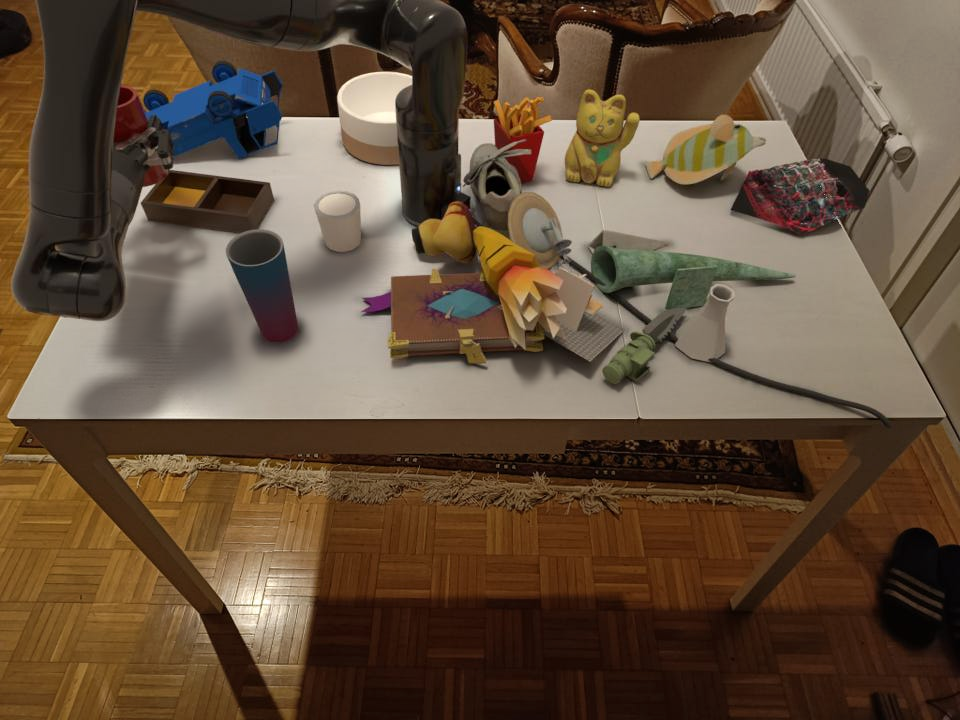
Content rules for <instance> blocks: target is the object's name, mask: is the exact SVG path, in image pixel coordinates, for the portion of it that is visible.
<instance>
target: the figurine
mask: <svg viewBox="0 0 960 720" xmlns="http://www.w3.org/2000/svg"><path fill="white" fill-rule="evenodd" d="M626 106H627V100H626V97H625V96H624V95H623V94H616V95H613V96H611V97H610V98H608V99H606V100H602V99H601V98H600V95H599V94H598V93H597V92H596V91H595V90H593V89H591V88H590V89H586V90H584V92H583V94H582V95H581V98H580V103H579V107H578V111H577V115H576V120H575V128H576V131H575V132H574V135H572V139H571V140H570V143H569V145H568V147H567V150H566V152H565V155H564V167H565V179H566V180H567V181H568V182H573V183H579V182H580V181H581V180H582V181H583V182H584V183H586V184H592V183H594V182H595V183H596V185H597V186H598V187H605V188H607V187H608V188H609V187H611V186H612V184H613V182H614V178H615V176H617V174H618V171H619V169H620V166H621V159H622V157H621V153H622V150H624V149H625V148H627V146H629V145H630V144H631V143H632V140H633V139H634V137H635V135H636V132H637V131H638V127H639V124H640V119H641V118H640V115H639V114H638V113H637V112H631V113H629V114H628V115H627V116H626V119H625V112H626V108H627V107H626Z"/></svg>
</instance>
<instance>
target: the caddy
mask: <svg viewBox="0 0 960 720" xmlns="http://www.w3.org/2000/svg"><path fill="white" fill-rule="evenodd" d="M272 189H273V188H272V185H271V182H269V181H260V180H253V179H247V178H246V179H245V178H237V177H229V176H222V175H214V174H207V173H199V172H190V171H184V170H175V169H169V170H168V173H167V175H166V177H165V178H164V179H163V180H162V181H160V182H159V183H157V184H154V185H153V186H152V188H151V189H150V190H149V192H147V194H146V195H145V196H144V198H143V199H142V200H141V202H140V206H141V208H142V210H143V212H144V214H145V217H146V219H147V221H148V222H156V223H163V224H169V225H178V226H186V227H192V228H200V229H207V230H215V231H223V232H230V233H235V234H236V233H238V234H241V233H243V232H246V231H249V230H256V229H259V227H260V225H261V223H262V221H264V218H265V217H266V215H267V213H268V211H270V208H271V207H272V206H273V203H274V201H275V197H274V193H273V190H272Z"/></svg>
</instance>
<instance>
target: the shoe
mask: <svg viewBox="0 0 960 720" xmlns="http://www.w3.org/2000/svg"><path fill="white" fill-rule="evenodd" d="M524 141H526V139H525V140H521V141H517V142H513V143H511V144H509V145H507V146H505V147H503V148H501V149H499V150H498V149H497V147H496V146H495V143H491V142H485V143H481V144H479V145H478V146H477V147H476V148H475V149H474V150H473V152H472V154H471V157H470V161H469V171H468V172H467V173H466V175H465V176H464V177H463V179H462V182H463V183H464V185H463V186H462V187H463V188H464V187H465V186H471V188H472V191H473V193H474V194H475V196H476V197H477V198H479V201H480V209H481V211H482V215H483V218H484V223H483V227H486V228H490V229H492V230H494V231H496V232H498V233H500V234H502V235H503V236H505V237H506V238H508V239H509V240H510V241H511V239H510V235H509V229H508V212H509V209H510V206H511V203H512V201H513V200H514V199H515V198H516V196H517V195H519V194H521V193H522V190H523V189H522V183H521V181H520V178H519V175H518V172H517V170H516V168H515V167H514V166H513V165H511V164H509V163H508V162H507V160H506V159H505V158H504V157H510V156H516V155H523V154H531V150H528V149H516V150H511V151H507V152H504V151H505V150H507V149H509V148H511V147H513V146H514V145H516V144H518V143H521V142H524ZM502 152H504V153H502Z"/></svg>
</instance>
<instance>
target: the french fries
mask: <svg viewBox="0 0 960 720" xmlns="http://www.w3.org/2000/svg"><path fill="white" fill-rule="evenodd" d="M544 100H545V99H544V97H543V96H541V97H540V96H537V97H535V99H530V98H529V97H527V96H525V98H523V99H522V101H520V103H519V104H518V103H516V104H515V105H514V106H512V107H511V104H510V103H509V102H508V101H507V102H505V101H504V102H503V103H504V104H503V106H501V103H500V101H499V99H497V100H494V101H493V105H494V109H495V111H496V114H497V116H498V117H497V118H493V131H494V132H493V133H494V135H493V136H494V145H495V146H496V147H497V149H498V150H499V149H501V148H503V147H505V146H507V145H509V144H511V143H513V142H517V141H521V140H525V139H526V141H524V142H521V143H518V144H516V145H514V146H513V147H511V148H509V149H507V150H505V151H504V152H507V151H511V150H516V149H528V150H531V154H523V155H516V156H510V157H504V158H505V159H506V160H507V162H508V163H509V164H511V165H513V166H514V167H515V168H516V170H517V172H518V175H519V178H520V181H521V184H524V183H525V184H526V183H528V182H533V181H534V176H535V172H536V169H537V164H538V160H539V156H540V152H541V148H542V144H543V140H544V135H545V130H544V129H542V127H541V126H542V125H544V124H548V123H550V122H552V121H553V117H552V115H551V114H549V115H547V116H544V117H542V118H539V108H538V105H539V104H541V103H542V102H544ZM528 105H529V107H528ZM504 152H502V153H504Z"/></svg>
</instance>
